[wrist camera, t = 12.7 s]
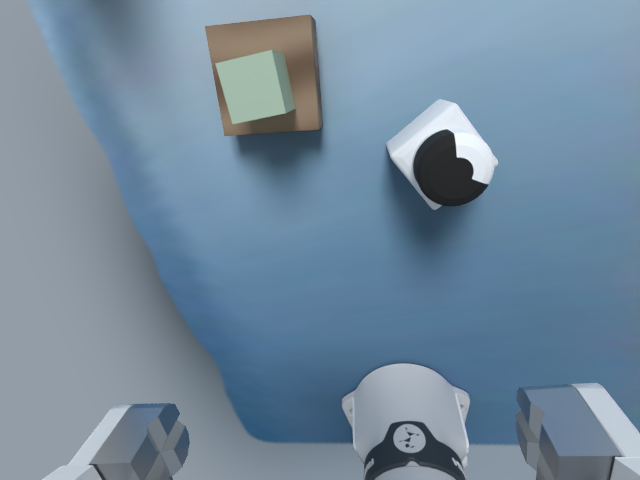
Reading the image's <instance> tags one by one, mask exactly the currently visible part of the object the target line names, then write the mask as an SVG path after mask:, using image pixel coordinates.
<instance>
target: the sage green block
mask: <svg viewBox="0 0 640 480" xmlns="http://www.w3.org/2000/svg"><path fill="white" fill-rule="evenodd" d="M215 64H216V68H217V71H218V75H219V78H220V82H221V85H222V89H223V92H224V96H225V100H226V103H227V107H228V110H229V114H230V117H231V121H232V124H237V123H241V122H246V121H251V120H256V119H261V118H265V117H270V116H275V115H280V114H285V113H287V112H290V111H292V110H294V109H296V107H295V103H294V98H293V93H292V89H291V84H290V79H289V75H288V70H287V65H286V61H285V56H284V53H281V52H278V51H274V50H269V51H265V52H261V53H257V54H252V55H248V56H244V57H240V58H236V59H232V60H228V61H224V62H219V63H215Z"/></svg>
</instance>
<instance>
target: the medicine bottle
mask: <svg viewBox="0 0 640 480" xmlns="http://www.w3.org/2000/svg"><path fill="white" fill-rule="evenodd" d="M386 146H387V149H388V152H389V155H390V157H391V159H392V160H393V162H394V163H395V164H396V165H397V167H398V168H399V169H400V170H401V171H402V173H403V174H404V175H405V176H406V178H407V179H408V180H409V181H410V183H411V184H412V185H413V186H414V187H415V189H416V190H417V191H418V192H419V194H420V195H421V196H422V197H423V198H424V200H425V201H426V202H427V203H428V205H429V206H430V207H431V208H432V209H433V210H436V209H438V208H439V207H441V206H442V205H443V206H459V205H463V204H466V203H468V202H470V201H472V200H474V199H475V198H477V197H478V196H479V195H480V194H482V193H483V191H484V190H485V189H486V188H487V186H488V185H489V183H490V181H491V179H492V176H493V172H494V168H495V167H496V166H497V165H498V160H497V159H496V158H495V156H494V155H493V153H492V152H491V150H490V148H489V147H488V145H487V144H486V143H485V142H484V141H483V140H482V138H481V137H480V135H479V134H478V133H477V131H476V130H475V129H474V127H473V126H472V124H471V123H470V122H469V120H468V119H467V117H466V116H465V115H464V113H463V112H462V111H461V109H460V108H459V106H458V105H457V104H456V103H452V102H448V101H445V100H441V99H439V100H437V101H436V102H435V103H433V104H432V105H431V106H430V107H429V108H427V109H426V110H425V111H424V112H423V113H421V114H420V115H419V116H418V117H417V118H416V119H414V120H413V121H412V122H411V123H410V124H408V125H407V126H406V127H405V128H404V129H402V130H401V131H400V132H399V133H398V134H396V135H395V136H394V137H393V138H392V139H390V140H389V141H388V142H387V143H386Z"/></svg>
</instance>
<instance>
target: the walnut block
mask: <svg viewBox="0 0 640 480" xmlns="http://www.w3.org/2000/svg"><path fill="white" fill-rule="evenodd" d="M205 29H206V35H207V40H208V46H209V51H210V57H211V63H212V68H213V74H214V79H215V85H216V90H217V96H218V101H219V107H220V113H221V118H222V124H223V129H224V135H225V136H233V135H247V134H262V133H276V132H291V131H305V130H319V129H320V128H321V127H322V126H323V121H322V108H321V94H320V80H319V66H318V53H317V39H316V25H315V20H314V18H313V17H312V16H311V15H303V16H294V17H285V18H276V19H267V20H258V21H249V22H240V23H231V24H222V25H213V26H205ZM269 50H274V51H278V52H281V53H284V56H285V61H286V65H287V70H288V75H289V79H290V84H291V89H292V93H293V98H294V103H295V107H296V109H294V110H292V111H290V112H287V113H285V114H280V115H275V116H270V117H265V118H261V119H256V120H251V121H246V122H241V123H237V124H232V121H231V117H230V114H229V110H228V107H227V103H226V100H225V96H224V92H223V89H222V85H221V82H220V78H219V75H218V71H217V68H216V64H215V63H219V62H224V61H228V60H232V59H236V58H240V57H244V56H248V55H252V54H257V53H261V52H265V51H269Z"/></svg>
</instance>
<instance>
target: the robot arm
mask: <svg viewBox="0 0 640 480" xmlns="http://www.w3.org/2000/svg"><path fill="white" fill-rule="evenodd" d="M517 402H518V404H519V406H520V408H521V410H520V411H519V412H518V413H517V414H516V432H517V437H518V442H519V445H520V448H521V451H522V453H523V455H524V458H525V461H526V462H527V464H529V465H530V466H531V467H532V468H533V469H535V470H536V471H537V474H536V480H640V433H639V432H638V430H637V429H636V428H635V427H634V425H633V424H632V423H631V421H630V420H629V419H628V418H627V416H626V415H625V414H624V413H623V411H622V410H621V409H620V408H619V406H618V405H617V404H616V403H615V401H614V400H613V399H612V398H611V396H610V395H609V394H608V392H607V391H606V390H605V389H604V387H603V386H601V385H600V384H598V383H585V384H570V385H568V384H563V385H545V386H528V387H519V389H518V391H517ZM469 405H470V398H469V395H468V393H467V392H465V391H463V390H461V389H459V388H456V387H454V386H452V385H450V384H449V383H448V382H447V381H446V380H445V379H444V378H443V377H442V376H441V375H439V374H438V373H437V372H435V371H433V370H431V369H429V368H426V367H423V366H420V365H415V364H392V365H388V366H384V367H381V368H379V369H376V370H374V371H373V372H371V373H370V374H368V375H367V376H366V377H365V378H364V379H363V380H362V381H361V383H360V384H359V386H358V387H357V388H356V389H355V390H354V391H353V392H351V393H349V394H348V395H346V396H345V397H344V398H343V399H342V408H343V410H344V412H345V415H346V417H347V419H348V421H349V423H350V425H351V427H352V429H353V447H354V450H356V451H357V453H358V456H359V458H360V459H361V461H362V462H363V464H364V480H467V478H466V474H465V471H464V469H463V468H466V467H467V456H466V455H468V454H469V448H468V447H469V442H468V437H467V433H466V429H465V425H464V424H465V420H466V416H467V413H468V409H469ZM179 414H180V413H179V411H178V409H177V407H176V405H175V404H170V403H165V404H164V403H161V404H124V405H123V404H122V405H116V406H115V407H113V408H111V409H110V410H109V412H108V413H107V414H106V416H105V417H104V419H103V420H102V421H101V422H100V424H99V425H98V427H96V429H95V430H94V431H93V433H92V434H91V435H90V437H89V438H88V439H87V441H86V442H85V443H84V444H83V446H82V447H81V448H80V450H79V451H78V452H77V454H76V455H75V456H74V458H73V459H72V461H70V463H69V464H68V465H65V466H64V465H63V466H61V467H59V468H58V469H56V470H55V471H54V472H52V473H51V474H49V475H48V476H47V477H45V478H44V479H42V480H173V479H172V476H173V475H174V474H175V473H176V472H178V471H179V470H180V469H181V468H182V466H183V464H184V462H185V460H186V457H187V454H188V448H189V434H188V431H187V429H186V426H185V425H183V424H182V423H181V422H179V421H178V420H177V419H178V416H179Z"/></svg>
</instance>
